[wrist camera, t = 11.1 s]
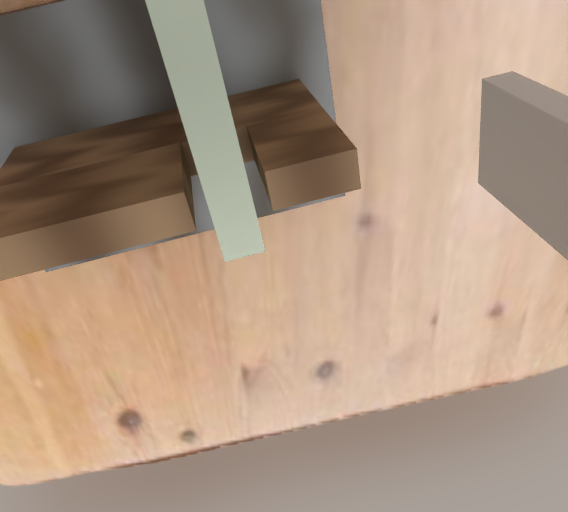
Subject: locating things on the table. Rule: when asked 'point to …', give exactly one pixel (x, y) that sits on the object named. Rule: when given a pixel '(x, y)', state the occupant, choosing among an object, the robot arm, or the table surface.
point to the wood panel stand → (152, 126)
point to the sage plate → (207, 122)
